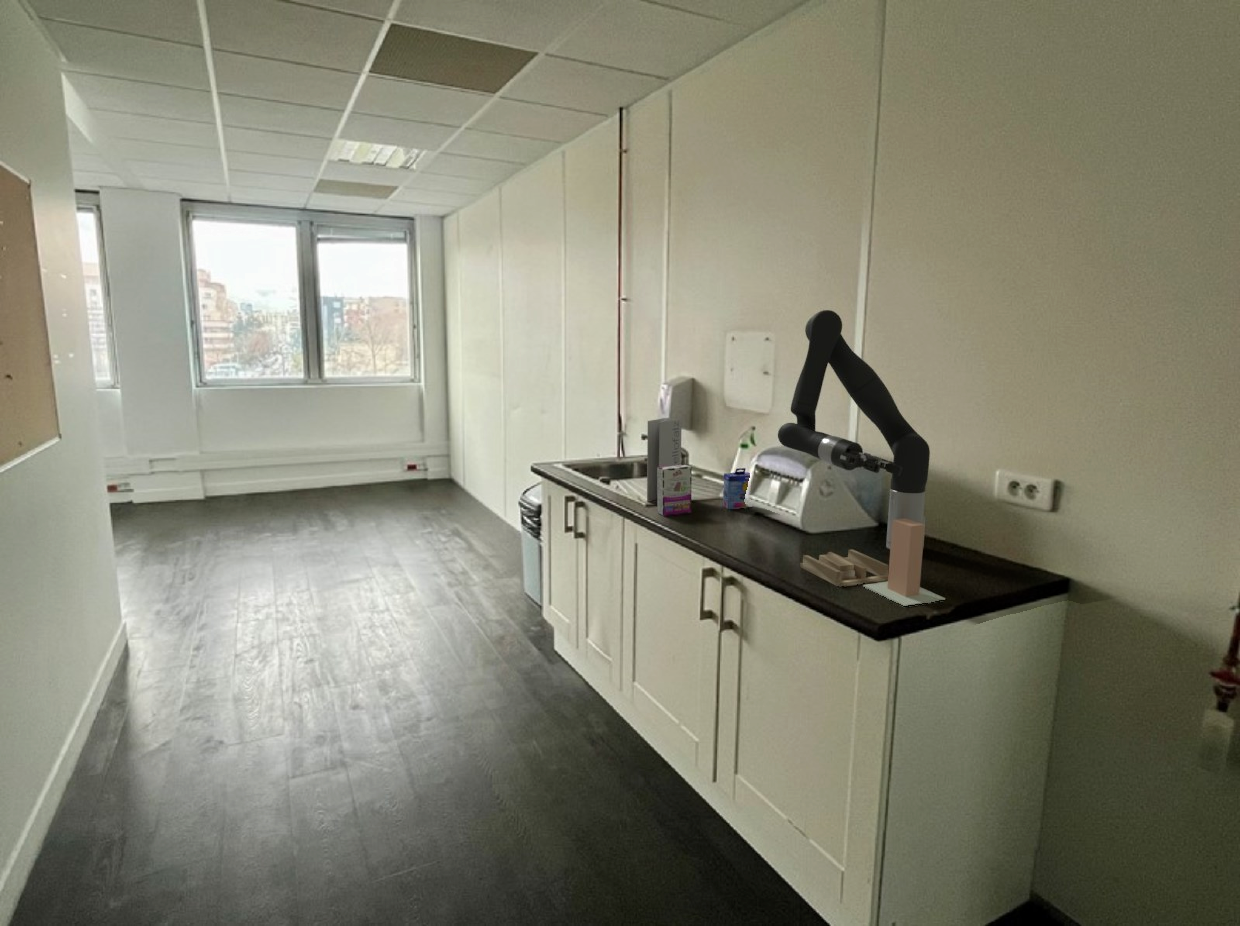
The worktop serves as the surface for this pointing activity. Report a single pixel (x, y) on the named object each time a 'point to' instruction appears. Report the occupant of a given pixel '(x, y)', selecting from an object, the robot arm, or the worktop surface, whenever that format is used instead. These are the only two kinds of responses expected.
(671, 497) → the candy bar box
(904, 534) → the peach upright pillar
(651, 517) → the worktop surface
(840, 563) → the plywood offcut stack
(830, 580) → the birch rack
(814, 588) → the worktop surface
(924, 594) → the sage mat
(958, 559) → the worktop surface
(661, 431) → the grey lettered box
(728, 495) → the ink cartridge box
